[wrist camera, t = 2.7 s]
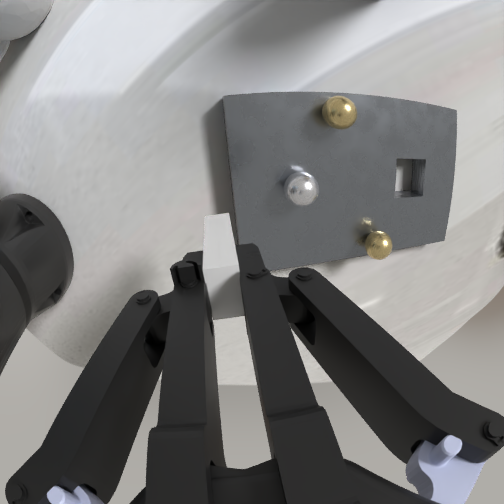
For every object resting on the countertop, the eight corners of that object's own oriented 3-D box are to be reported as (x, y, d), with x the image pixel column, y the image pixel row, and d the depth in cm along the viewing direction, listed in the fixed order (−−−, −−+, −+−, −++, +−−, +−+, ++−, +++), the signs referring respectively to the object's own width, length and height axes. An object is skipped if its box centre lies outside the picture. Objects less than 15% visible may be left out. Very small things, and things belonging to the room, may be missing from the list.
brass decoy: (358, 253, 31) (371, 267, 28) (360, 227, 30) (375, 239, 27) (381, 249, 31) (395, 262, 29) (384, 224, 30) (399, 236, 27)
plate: (240, 263, 32) (243, 274, 30) (222, 98, 24) (223, 96, 22) (433, 233, 35) (444, 240, 33) (443, 108, 26) (456, 110, 24)
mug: (28, -17, 11) (-14, -38, 2) (76, -18, 14) (37, -50, 5) (-16, 72, 15) (-68, 73, 6) (25, 80, 18) (-32, 78, 9)
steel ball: (281, 202, 27) (289, 213, 24) (279, 170, 26) (288, 177, 23) (312, 199, 27) (324, 209, 24) (311, 167, 26) (324, 174, 23)
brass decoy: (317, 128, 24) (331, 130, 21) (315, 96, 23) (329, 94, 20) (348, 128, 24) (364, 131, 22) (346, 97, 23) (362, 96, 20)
